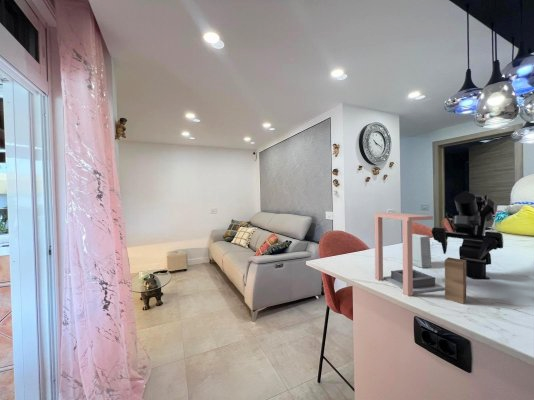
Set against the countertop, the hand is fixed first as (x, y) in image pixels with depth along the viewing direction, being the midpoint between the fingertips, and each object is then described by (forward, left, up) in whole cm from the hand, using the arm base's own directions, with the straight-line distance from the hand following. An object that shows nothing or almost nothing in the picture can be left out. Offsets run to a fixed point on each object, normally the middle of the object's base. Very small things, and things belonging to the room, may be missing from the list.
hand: (460, 255), depth 74 cm
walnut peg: (+5, +5, -13) cm, 15 cm away
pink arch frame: (+17, -6, -13) cm, 22 cm away
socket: (+12, -7, -13) cm, 19 cm away
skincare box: (-3, -30, -13) cm, 33 cm away
